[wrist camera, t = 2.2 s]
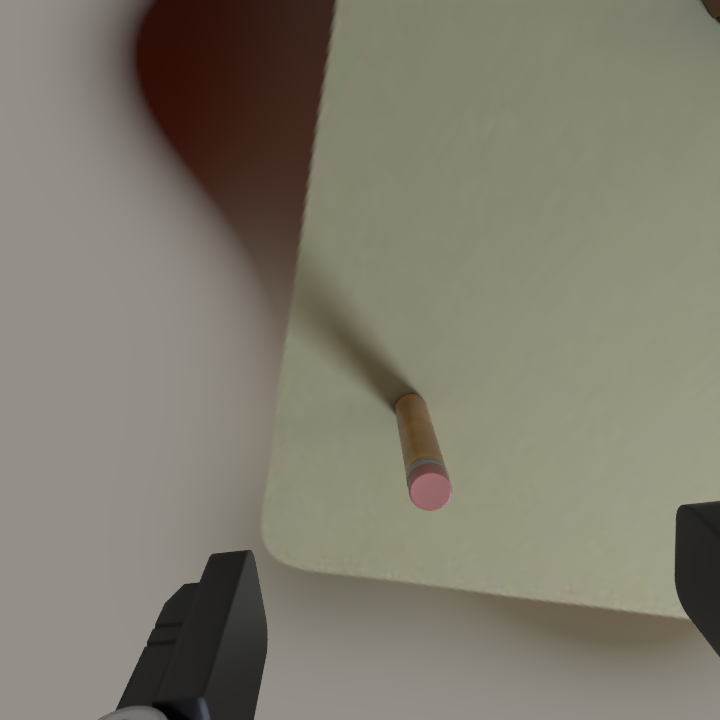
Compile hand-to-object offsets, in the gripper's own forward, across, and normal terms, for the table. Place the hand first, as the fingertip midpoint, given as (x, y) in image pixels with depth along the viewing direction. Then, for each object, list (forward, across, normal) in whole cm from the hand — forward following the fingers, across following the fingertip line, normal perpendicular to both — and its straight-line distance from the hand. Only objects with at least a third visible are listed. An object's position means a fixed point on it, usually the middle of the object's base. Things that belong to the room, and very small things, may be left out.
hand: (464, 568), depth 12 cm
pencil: (+20, 0, +4) cm, 20 cm away
